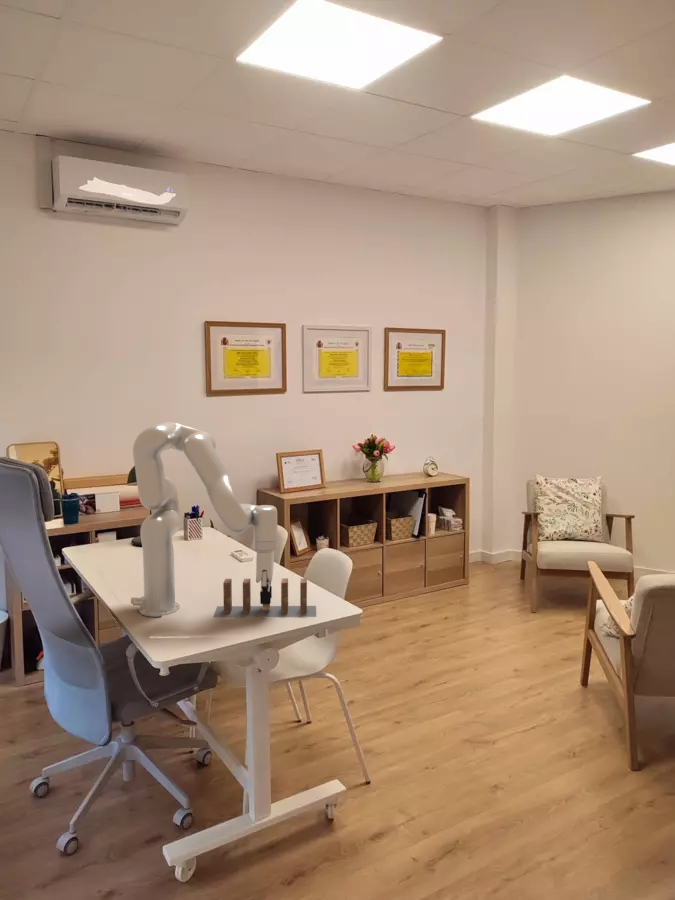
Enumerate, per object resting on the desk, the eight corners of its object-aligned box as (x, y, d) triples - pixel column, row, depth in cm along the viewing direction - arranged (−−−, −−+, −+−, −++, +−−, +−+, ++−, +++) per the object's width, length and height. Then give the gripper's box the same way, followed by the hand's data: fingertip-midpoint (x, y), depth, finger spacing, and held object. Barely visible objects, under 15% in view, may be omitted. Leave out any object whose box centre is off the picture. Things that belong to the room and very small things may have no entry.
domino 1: (223, 614, 216) (223, 583, 215) (225, 609, 221) (225, 578, 220) (230, 614, 216) (229, 583, 215) (231, 609, 221) (231, 578, 220)
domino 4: (281, 613, 217) (281, 582, 216) (281, 608, 222) (281, 578, 220) (287, 613, 217) (287, 582, 216) (288, 608, 222) (288, 578, 221)
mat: (212, 618, 214) (212, 617, 214) (217, 607, 224) (217, 606, 224) (316, 617, 215) (316, 616, 215) (316, 606, 225) (316, 605, 225)
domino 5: (300, 613, 217) (300, 582, 216) (300, 608, 222) (300, 578, 221) (306, 613, 217) (306, 582, 216) (306, 608, 222) (306, 578, 221)
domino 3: (262, 610, 217) (262, 579, 216) (263, 605, 221) (263, 575, 220) (269, 610, 217) (268, 579, 216) (269, 605, 221) (269, 575, 220)
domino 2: (242, 613, 217) (242, 583, 215) (244, 608, 221) (244, 578, 220) (249, 613, 217) (249, 582, 216) (250, 608, 221) (250, 578, 220)
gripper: (255, 538, 225) (256, 592, 227) (251, 551, 208) (251, 610, 210) (278, 538, 225) (279, 592, 227) (276, 551, 208) (276, 610, 211)
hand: (266, 600), depth 219 cm, fingers closed on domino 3, 4 cm apart
